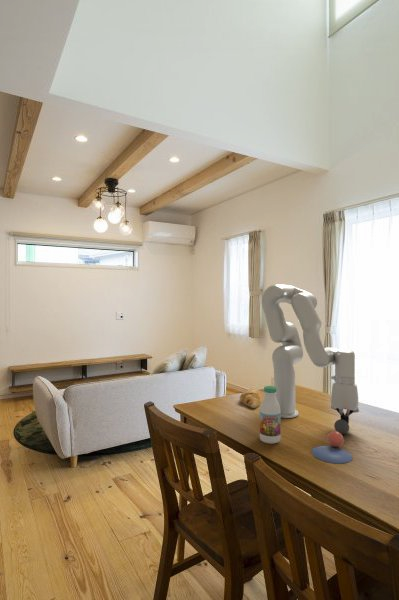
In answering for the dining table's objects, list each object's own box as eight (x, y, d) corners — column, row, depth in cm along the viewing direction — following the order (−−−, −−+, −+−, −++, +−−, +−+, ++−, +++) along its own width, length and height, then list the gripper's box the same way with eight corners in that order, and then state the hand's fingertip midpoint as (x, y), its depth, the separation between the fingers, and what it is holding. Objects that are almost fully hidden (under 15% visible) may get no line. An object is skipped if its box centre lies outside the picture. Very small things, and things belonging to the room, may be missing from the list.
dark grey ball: (334, 435, 135) (334, 421, 135) (333, 430, 140) (333, 416, 140) (350, 437, 133) (350, 422, 133) (348, 431, 139) (348, 418, 139)
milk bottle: (257, 436, 134) (257, 384, 134) (276, 435, 135) (277, 384, 135) (262, 444, 127) (262, 390, 126) (283, 443, 127) (283, 389, 127)
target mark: (307, 457, 116) (307, 456, 116) (316, 443, 127) (316, 443, 127) (349, 467, 110) (349, 466, 110) (354, 451, 121) (354, 451, 121)
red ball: (327, 448, 123) (327, 433, 123) (326, 442, 128) (326, 427, 128) (344, 450, 121) (344, 435, 121) (342, 444, 127) (342, 429, 127)
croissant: (260, 416, 167) (268, 402, 167) (242, 407, 166) (249, 392, 166) (250, 402, 188) (257, 389, 188) (234, 394, 187) (241, 381, 187)
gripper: (324, 380, 143) (324, 424, 143) (364, 384, 135) (364, 431, 136) (327, 376, 149) (327, 418, 149) (365, 380, 142) (365, 425, 142)
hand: (344, 424), depth 142 cm, fingers closed
